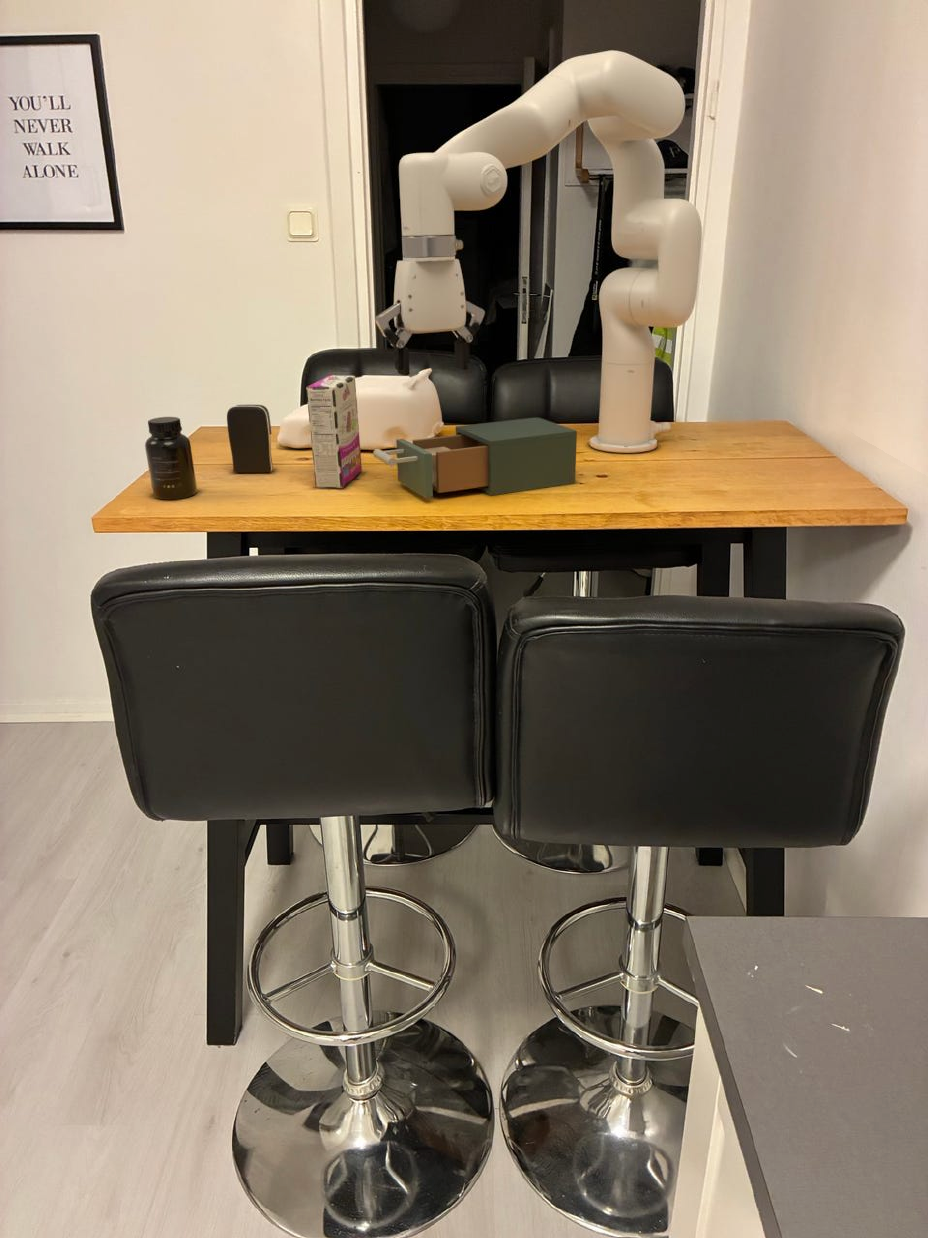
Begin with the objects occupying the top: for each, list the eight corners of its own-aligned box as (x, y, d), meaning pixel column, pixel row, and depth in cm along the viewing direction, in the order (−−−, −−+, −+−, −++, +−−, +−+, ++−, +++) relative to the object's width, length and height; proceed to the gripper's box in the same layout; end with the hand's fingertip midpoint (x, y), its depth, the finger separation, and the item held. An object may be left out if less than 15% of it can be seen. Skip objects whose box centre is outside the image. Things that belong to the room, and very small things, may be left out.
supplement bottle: (158, 489, 147) (147, 415, 142) (200, 488, 148) (191, 414, 143) (148, 501, 141) (136, 424, 136) (193, 499, 141) (182, 423, 137)
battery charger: (277, 468, 159) (270, 402, 155) (271, 473, 156) (265, 406, 151) (237, 468, 160) (230, 402, 155) (231, 473, 156) (224, 406, 151)
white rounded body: (427, 455, 167) (425, 381, 161) (273, 450, 172) (266, 378, 166) (448, 433, 184) (447, 365, 178) (308, 429, 189) (302, 363, 184)
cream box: (444, 473, 146) (444, 446, 144) (456, 480, 143) (456, 452, 141) (419, 477, 145) (418, 449, 143) (430, 483, 141) (429, 455, 139)
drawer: (395, 502, 136) (394, 457, 133) (369, 484, 145) (367, 442, 142) (509, 486, 143) (509, 443, 140) (477, 470, 153) (477, 430, 150)
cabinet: (490, 495, 142) (490, 441, 138) (456, 477, 152) (455, 426, 149) (575, 483, 148) (577, 430, 144) (536, 466, 158) (537, 417, 155)
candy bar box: (335, 471, 157) (328, 374, 150) (362, 472, 156) (356, 375, 149) (313, 488, 147) (304, 385, 140) (342, 489, 146) (335, 386, 139)
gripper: (471, 246, 136) (473, 363, 143) (363, 251, 129) (370, 373, 136) (494, 247, 130) (495, 369, 137) (381, 252, 123) (388, 380, 130)
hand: (433, 371), depth 137 cm, fingers open, 9 cm apart
